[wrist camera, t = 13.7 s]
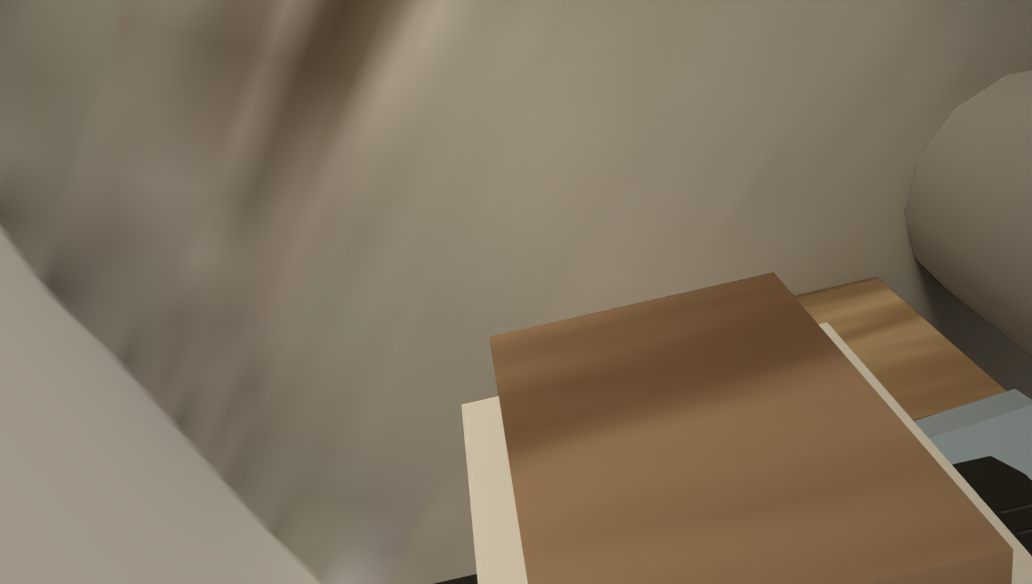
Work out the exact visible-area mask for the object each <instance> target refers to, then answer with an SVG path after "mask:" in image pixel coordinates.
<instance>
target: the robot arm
mask: <svg viewBox="0 0 1032 584" xmlns="http://www.w3.org/2000/svg"><path fill="white" fill-rule="evenodd" d="M818 325H819V326H820V327H821V328H822V329H823V330H824V332H825V333H826V334H827V335H828V336H829V337H830V338H831V340H832V341H833V342H834V343H835V344H836V345H837V347H838V348H839V349H840V350H841V351H842V352H843V353H844V355H845V356H846V357H847V358H848V359H849V360H850V362H851V363H852V364H853V365H854V366H855V367H856V368H857V370H858V371H859V372H860V373H861V374H862V375H863V377H864V378H865V379H866V380H867V381H868V382H869V383H870V385H871V386H872V387H873V388H874V389H875V390H876V392H877V393H878V394H879V395H880V396H881V397H882V398H883V400H884V401H885V402H886V403H887V404H888V405H889V407H890V408H891V409H892V410H893V411H894V412H895V413H896V415H897V416H898V417H899V418H900V419H901V420H902V422H903V423H904V424H905V425H906V426H907V427H908V428H909V430H910V431H911V432H912V433H913V434H914V435H915V437H916V438H917V439H918V440H919V441H920V442H921V443H922V445H923V446H924V447H925V448H926V449H927V450H928V452H929V453H930V454H931V455H932V456H933V457H934V458H935V460H936V461H937V462H938V463H939V464H940V465H941V467H942V468H943V469H944V470H945V471H946V472H947V473H948V475H949V476H950V477H951V478H952V479H953V480H954V481H955V483H956V484H957V485H958V486H959V487H960V488H961V490H962V491H963V492H964V493H965V494H966V495H967V496H968V498H969V499H970V500H971V501H972V502H973V503H974V505H975V506H976V507H977V508H978V509H979V510H980V511H981V513H982V514H983V515H984V516H985V517H986V518H987V520H988V521H989V522H990V523H991V524H992V525H993V526H994V528H995V529H996V530H997V531H998V532H999V533H1000V535H1001V536H1002V537H1003V538H1004V539H1005V540H1006V541H1007V543H1008V544H1009V545H1010V546H1011V547H1012V548H1013V565H1012V584H1032V480H1031V479H1030V478H1029V477H1028V476H1027V475H1026V474H1024V473H1022V472H1021V471H1019V470H1017V469H1015V468H1013V467H1011V466H1009V465H1007V464H1006V463H1004V462H1002V461H1000V460H998V459H996V458H994V457H992V456H987V457H982V458H978V459H974V460H969V461H965V462H960V463H956V464H951V463H950V462H949V461H948V460H947V459H946V458H945V456H944V455H943V454H942V453H941V452H940V451H939V450H938V448H937V447H936V446H935V445H934V444H933V443H932V442H931V440H930V439H929V438H928V437H927V436H926V435H925V434H924V432H923V431H922V430H921V429H920V428H919V427H918V426H917V424H916V423H915V422H914V421H913V420H912V419H911V418H910V416H909V415H908V414H907V413H906V412H905V411H904V410H903V408H902V407H901V406H900V405H899V404H898V403H897V402H896V400H895V399H894V398H893V397H892V396H891V395H890V394H889V392H888V391H887V390H886V389H885V388H884V387H883V386H882V384H881V383H880V382H879V381H878V380H877V379H876V378H875V376H874V375H873V374H872V373H871V372H870V371H869V370H868V368H867V367H866V366H865V365H864V364H863V363H862V362H861V360H860V359H859V358H858V357H857V356H856V355H855V354H854V352H853V351H852V350H851V349H850V348H849V347H848V346H847V344H846V343H845V342H844V341H843V340H842V339H841V338H840V336H839V335H838V334H837V333H836V332H835V331H834V330H833V328H832V327H831V326H830V325H829V324H828V323H827V322H826V323H822V324H818ZM462 415H463V426H464V437H465V448H466V459H467V470H468V481H469V492H470V503H471V514H472V525H473V536H474V547H475V558H476V569H477V574H475V575H470V576H466V577H462V578H457V579H453V580H448V581H444V582H440V583H435V584H528V581H527V575H526V569H525V562H524V556H523V549H522V543H521V536H520V530H519V524H518V517H517V511H516V504H515V498H514V491H513V485H512V479H511V472H510V466H509V459H508V453H507V446H506V440H505V434H504V427H503V421H502V414H501V408H500V401H499V396H498V397H493V398H489V399H484V400H480V401H475V402H471V403H467V404H462Z"/></svg>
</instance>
